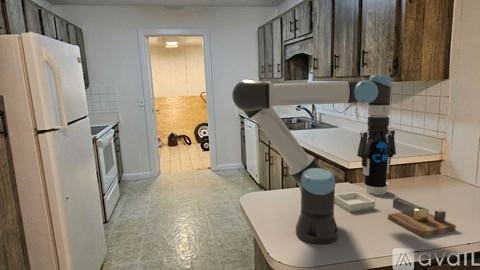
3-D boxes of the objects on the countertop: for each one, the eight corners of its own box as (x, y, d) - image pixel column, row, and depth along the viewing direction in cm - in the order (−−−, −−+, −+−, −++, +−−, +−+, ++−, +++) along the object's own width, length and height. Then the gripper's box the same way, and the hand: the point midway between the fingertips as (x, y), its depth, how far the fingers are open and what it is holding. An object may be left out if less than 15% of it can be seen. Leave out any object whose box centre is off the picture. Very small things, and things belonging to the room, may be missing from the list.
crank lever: (431, 220, 117) (432, 210, 117) (421, 222, 116) (421, 212, 115) (398, 205, 133) (399, 196, 132) (389, 207, 131) (389, 198, 131)
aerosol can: (359, 182, 124) (361, 133, 121) (376, 180, 127) (378, 132, 123) (374, 188, 116) (376, 136, 113) (391, 186, 119) (394, 135, 116)
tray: (349, 212, 132) (349, 204, 131) (332, 201, 144) (332, 194, 143) (374, 208, 135) (375, 201, 135) (355, 198, 148) (355, 191, 147)
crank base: (421, 237, 110) (422, 221, 109) (387, 219, 125) (388, 204, 124) (455, 230, 114) (456, 214, 113) (418, 213, 129) (420, 199, 128)
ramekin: (390, 196, 150) (391, 186, 149) (366, 195, 152) (367, 185, 151) (384, 188, 161) (384, 179, 160) (361, 188, 163) (362, 178, 162)
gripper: (360, 118, 111) (357, 178, 115) (409, 115, 116) (405, 173, 120) (348, 116, 119) (346, 173, 122) (394, 114, 123) (391, 169, 127)
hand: (375, 173), depth 121 cm, fingers closed on aerosol can, 8 cm apart
